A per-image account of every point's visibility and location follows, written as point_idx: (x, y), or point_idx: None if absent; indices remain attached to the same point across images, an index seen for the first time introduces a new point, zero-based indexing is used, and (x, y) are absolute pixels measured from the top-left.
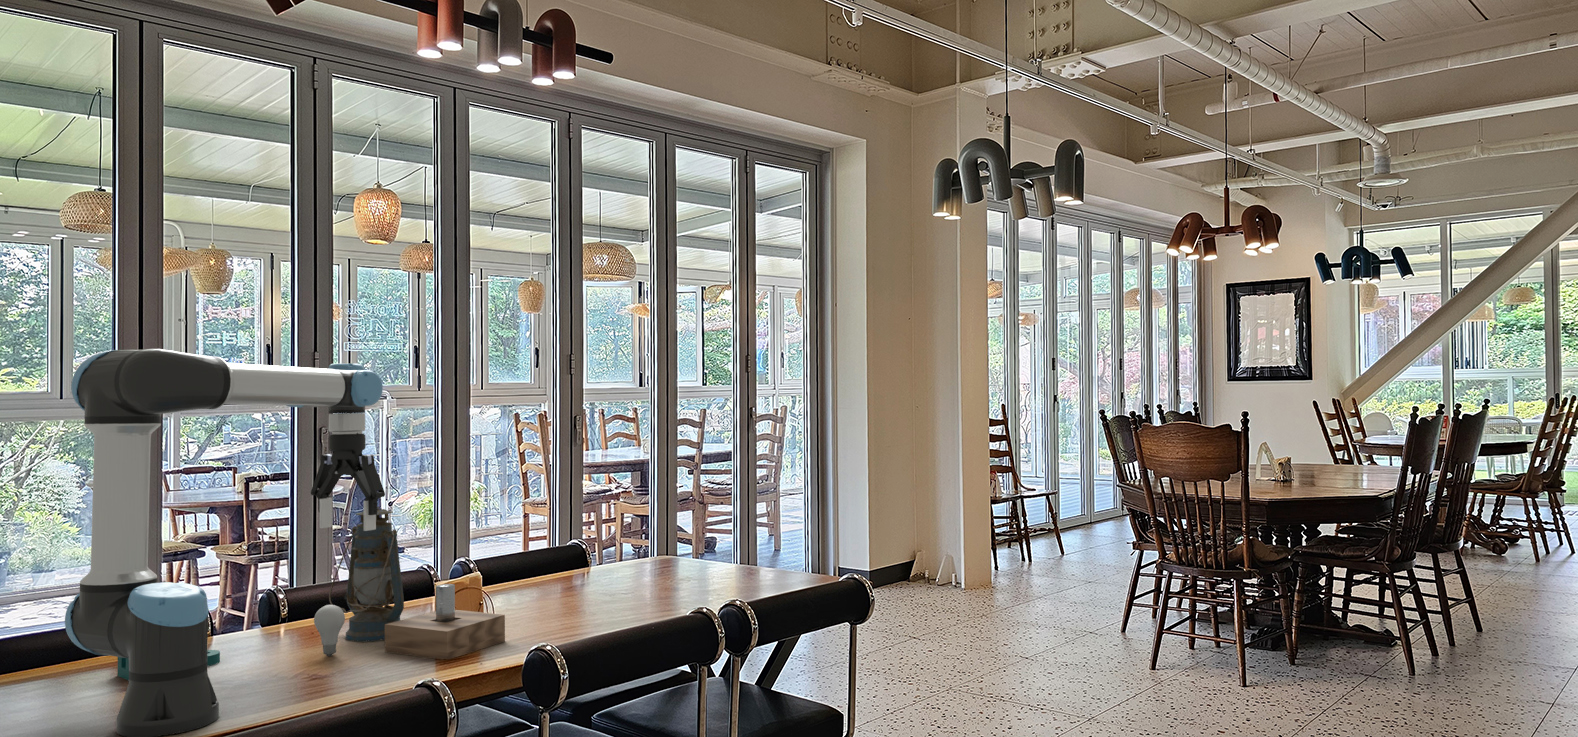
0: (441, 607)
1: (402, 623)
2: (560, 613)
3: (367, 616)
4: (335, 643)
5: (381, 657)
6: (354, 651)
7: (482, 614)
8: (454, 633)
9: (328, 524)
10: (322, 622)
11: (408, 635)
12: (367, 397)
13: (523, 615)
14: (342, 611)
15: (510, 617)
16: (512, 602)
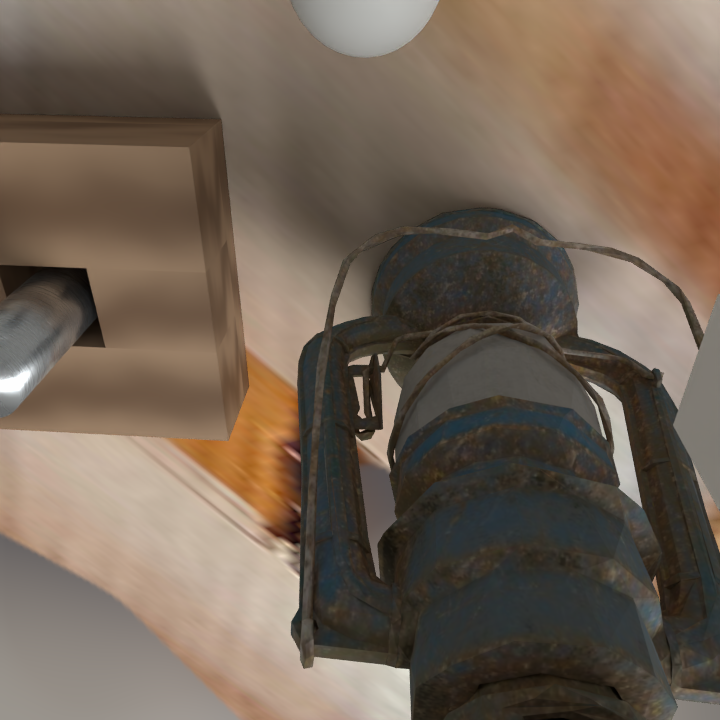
0: (3, 302)
1: (135, 190)
2: (168, 632)
3: (456, 290)
4: None
5: (157, 43)
6: (343, 80)
7: (20, 408)
8: None
9: (699, 402)
10: None
11: (63, 135)
12: None
13: (237, 600)
14: (304, 17)
15: (251, 579)
16: (388, 688)
